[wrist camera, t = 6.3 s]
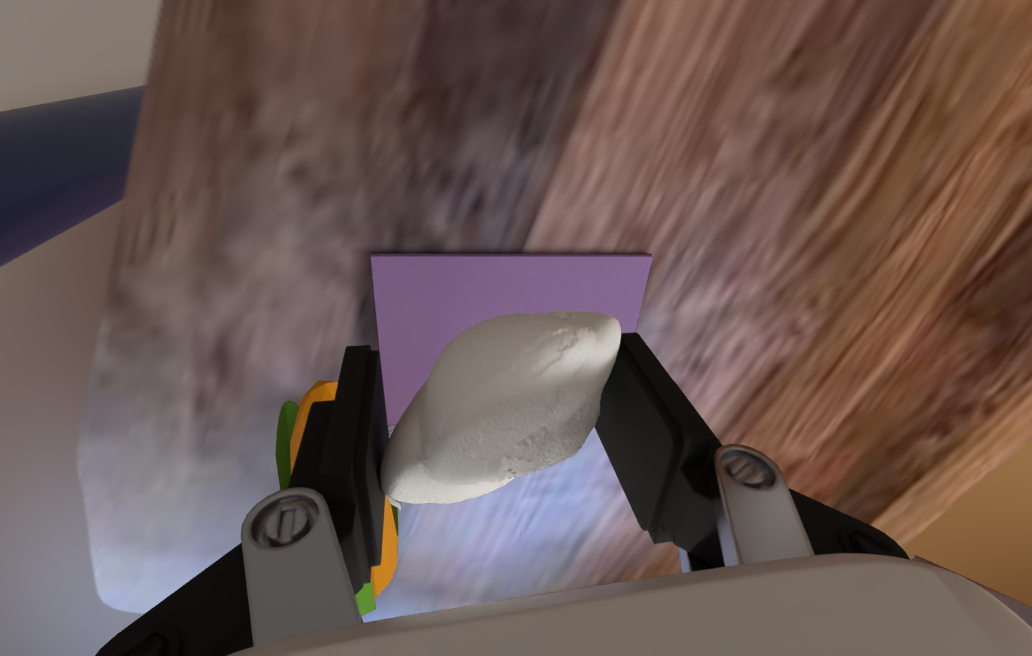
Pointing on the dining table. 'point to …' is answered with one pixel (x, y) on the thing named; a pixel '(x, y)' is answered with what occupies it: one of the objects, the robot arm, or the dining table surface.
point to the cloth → (485, 302)
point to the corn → (286, 453)
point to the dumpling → (501, 405)
